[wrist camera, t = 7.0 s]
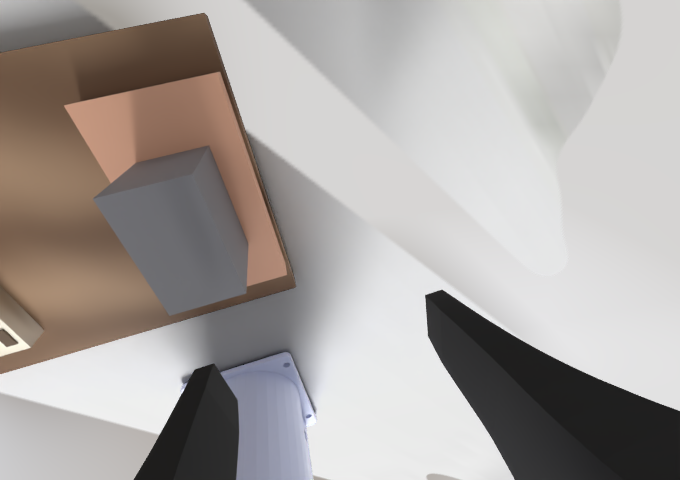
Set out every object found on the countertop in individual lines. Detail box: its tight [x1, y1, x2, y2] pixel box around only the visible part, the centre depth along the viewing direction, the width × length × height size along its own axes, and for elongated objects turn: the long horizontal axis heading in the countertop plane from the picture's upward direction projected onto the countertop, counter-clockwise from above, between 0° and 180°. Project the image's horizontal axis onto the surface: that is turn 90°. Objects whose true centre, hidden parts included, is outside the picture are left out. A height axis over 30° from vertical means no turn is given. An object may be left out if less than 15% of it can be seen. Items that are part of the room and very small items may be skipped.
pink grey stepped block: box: [64, 72, 287, 316], centre depth 13 cm, size 10×6×5 cm, turn 11°
